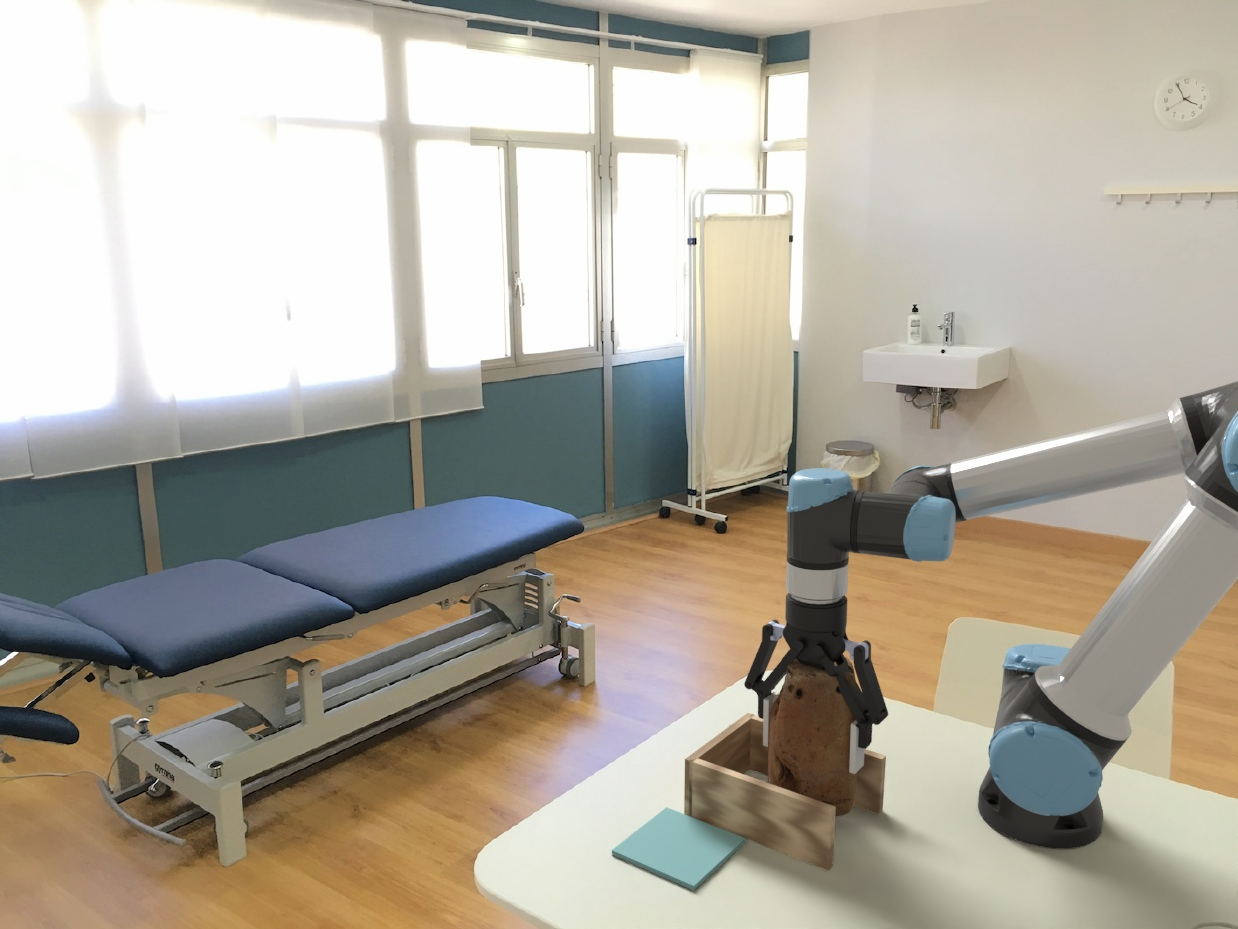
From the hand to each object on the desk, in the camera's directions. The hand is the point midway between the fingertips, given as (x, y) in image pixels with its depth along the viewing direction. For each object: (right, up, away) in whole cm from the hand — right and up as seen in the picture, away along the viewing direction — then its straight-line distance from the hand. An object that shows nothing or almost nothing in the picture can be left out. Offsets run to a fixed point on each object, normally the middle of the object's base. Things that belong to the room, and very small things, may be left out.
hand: (812, 755), depth 132 cm
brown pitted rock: (0, -7, +2) cm, 7 cm away
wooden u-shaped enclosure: (-3, -9, +4) cm, 10 cm away
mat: (-17, -11, -4) cm, 21 cm away
